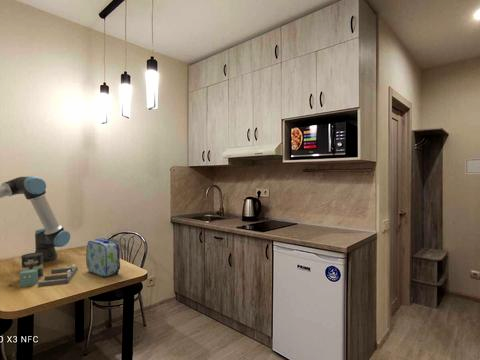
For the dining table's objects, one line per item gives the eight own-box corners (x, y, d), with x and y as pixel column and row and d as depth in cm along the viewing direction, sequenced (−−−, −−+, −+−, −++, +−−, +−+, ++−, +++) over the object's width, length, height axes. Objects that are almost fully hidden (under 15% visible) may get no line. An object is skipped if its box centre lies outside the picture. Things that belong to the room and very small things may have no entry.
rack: (52, 272, 179) (51, 264, 179) (77, 269, 183) (77, 261, 183) (38, 286, 156) (38, 277, 155) (67, 283, 160) (67, 273, 160)
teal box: (23, 283, 160) (23, 270, 160) (38, 282, 162) (37, 269, 162) (19, 287, 155) (19, 273, 155) (34, 285, 157) (34, 272, 157)
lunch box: (122, 274, 173) (122, 240, 173) (105, 279, 164) (104, 243, 164) (101, 267, 189) (100, 235, 188) (84, 271, 180) (84, 238, 180)
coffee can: (41, 279, 167) (41, 255, 167) (20, 282, 162) (19, 257, 162) (44, 274, 176) (43, 251, 176) (23, 277, 172) (23, 253, 172)
